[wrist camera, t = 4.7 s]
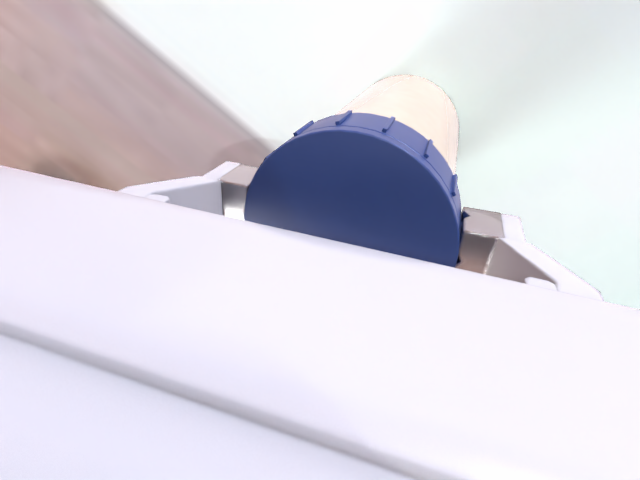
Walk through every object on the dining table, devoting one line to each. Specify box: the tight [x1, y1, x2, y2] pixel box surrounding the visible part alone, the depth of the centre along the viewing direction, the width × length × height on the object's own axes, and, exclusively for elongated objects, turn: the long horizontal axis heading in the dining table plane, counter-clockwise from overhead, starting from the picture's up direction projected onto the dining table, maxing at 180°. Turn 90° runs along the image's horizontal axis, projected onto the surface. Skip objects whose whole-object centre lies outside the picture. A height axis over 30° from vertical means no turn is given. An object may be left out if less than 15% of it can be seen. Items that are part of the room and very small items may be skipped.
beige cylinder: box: [335, 75, 459, 175], centre depth 16 cm, size 5×5×11 cm
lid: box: [244, 110, 463, 268], centre depth 12 cm, size 6×6×2 cm
